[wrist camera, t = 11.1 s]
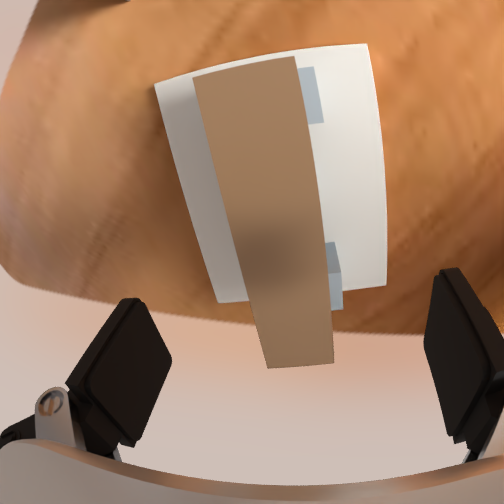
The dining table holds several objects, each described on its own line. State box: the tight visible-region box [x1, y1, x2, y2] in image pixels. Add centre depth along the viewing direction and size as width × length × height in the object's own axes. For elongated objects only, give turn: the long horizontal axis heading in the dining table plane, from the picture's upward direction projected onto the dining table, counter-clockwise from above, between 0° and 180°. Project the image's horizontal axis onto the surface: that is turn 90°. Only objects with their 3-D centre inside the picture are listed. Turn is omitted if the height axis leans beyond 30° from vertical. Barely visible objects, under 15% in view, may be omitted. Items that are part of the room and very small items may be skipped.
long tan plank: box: [192, 56, 334, 368], centre depth 16 cm, size 4×16×4 cm, turn 12°
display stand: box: [154, 44, 387, 311], centre depth 20 cm, size 14×18×6 cm
